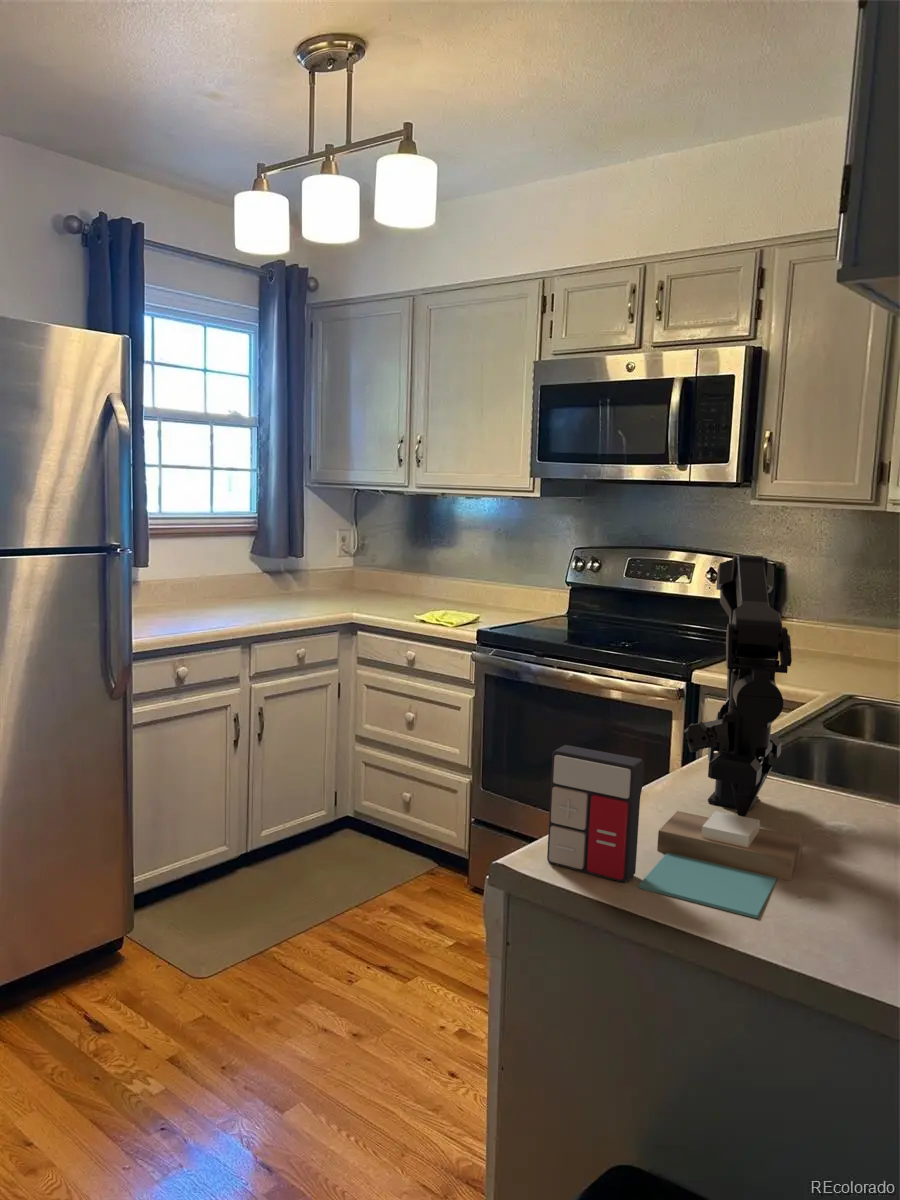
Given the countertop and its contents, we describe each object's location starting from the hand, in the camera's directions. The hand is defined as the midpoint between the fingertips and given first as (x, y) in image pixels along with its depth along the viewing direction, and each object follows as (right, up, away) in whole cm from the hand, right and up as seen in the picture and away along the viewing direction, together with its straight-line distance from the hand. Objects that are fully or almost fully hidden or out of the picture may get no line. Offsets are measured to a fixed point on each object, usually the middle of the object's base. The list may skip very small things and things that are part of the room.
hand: (742, 815), depth 125 cm
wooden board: (-3, -4, -5) cm, 8 cm away
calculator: (-23, -4, -11) cm, 26 cm away
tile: (-3, 0, -6) cm, 7 cm away
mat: (-9, -5, -15) cm, 18 cm away
